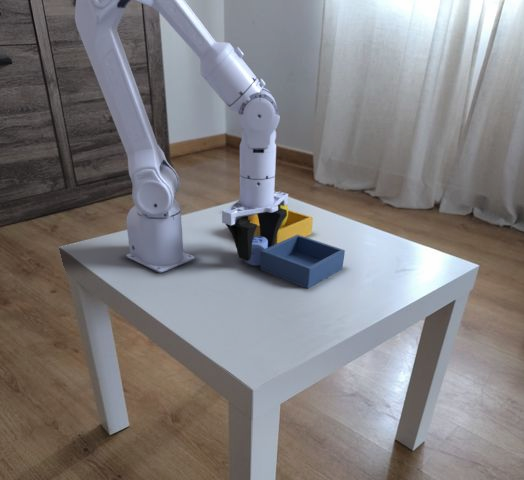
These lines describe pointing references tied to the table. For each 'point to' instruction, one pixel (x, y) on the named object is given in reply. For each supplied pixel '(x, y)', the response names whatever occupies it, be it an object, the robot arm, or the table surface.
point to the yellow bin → (288, 226)
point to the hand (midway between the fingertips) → (255, 253)
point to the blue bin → (302, 260)
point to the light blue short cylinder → (257, 250)
